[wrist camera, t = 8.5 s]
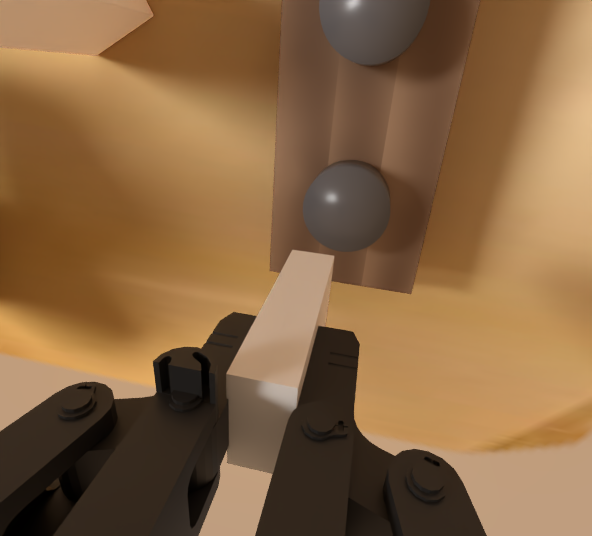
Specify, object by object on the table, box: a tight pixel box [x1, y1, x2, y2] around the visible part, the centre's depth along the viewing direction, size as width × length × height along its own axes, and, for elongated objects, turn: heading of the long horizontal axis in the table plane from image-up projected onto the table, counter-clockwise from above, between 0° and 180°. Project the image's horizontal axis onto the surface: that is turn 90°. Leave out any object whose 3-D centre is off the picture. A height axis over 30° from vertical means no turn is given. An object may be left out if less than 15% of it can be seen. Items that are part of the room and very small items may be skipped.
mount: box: [270, 0, 480, 294], centre depth 23 cm, size 10×32×6 cm, turn 176°
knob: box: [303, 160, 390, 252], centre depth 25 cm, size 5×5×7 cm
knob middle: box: [319, 0, 430, 66], centre depth 21 cm, size 5×5×7 cm
